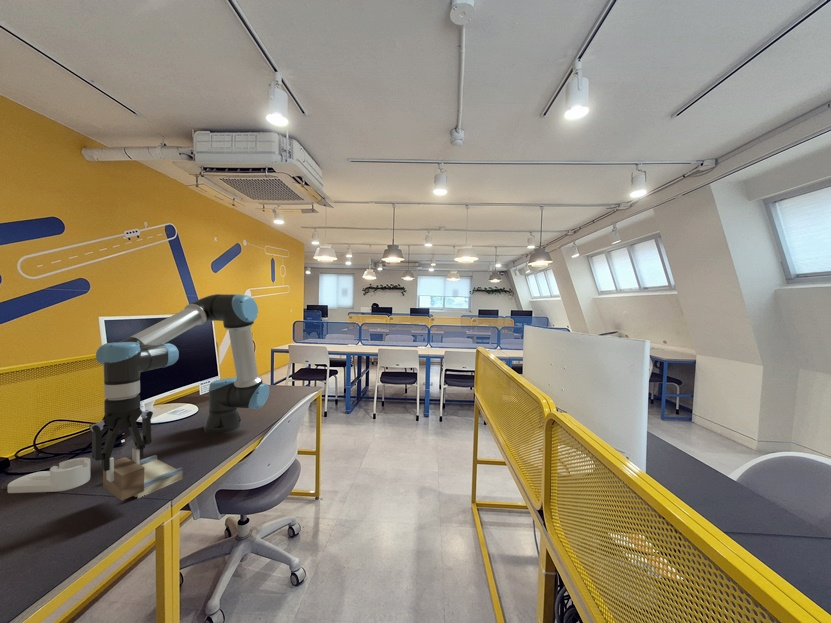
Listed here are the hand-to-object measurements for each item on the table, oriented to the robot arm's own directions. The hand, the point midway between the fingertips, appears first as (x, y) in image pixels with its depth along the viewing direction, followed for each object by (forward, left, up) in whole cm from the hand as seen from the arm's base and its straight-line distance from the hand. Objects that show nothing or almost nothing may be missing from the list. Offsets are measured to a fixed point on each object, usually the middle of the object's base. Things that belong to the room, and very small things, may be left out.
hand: (123, 474), depth 90 cm
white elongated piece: (+6, -33, -10) cm, 35 cm away
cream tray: (-10, -10, -9) cm, 17 cm away
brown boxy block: (0, 0, -4) cm, 4 cm away
